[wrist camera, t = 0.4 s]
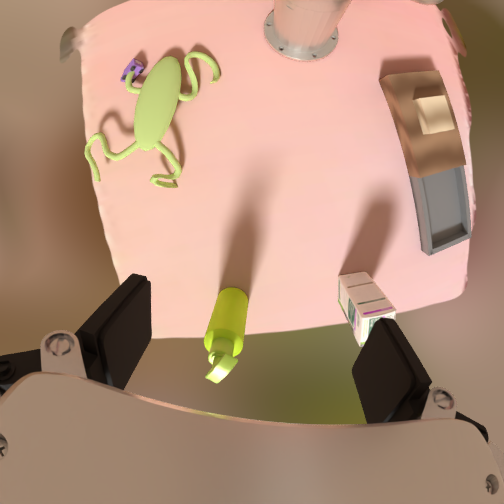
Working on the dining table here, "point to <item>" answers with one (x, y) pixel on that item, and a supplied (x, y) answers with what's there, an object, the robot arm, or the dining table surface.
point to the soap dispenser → (226, 332)
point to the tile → (433, 114)
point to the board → (409, 129)
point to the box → (442, 209)
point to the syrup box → (362, 303)
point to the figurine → (154, 109)
